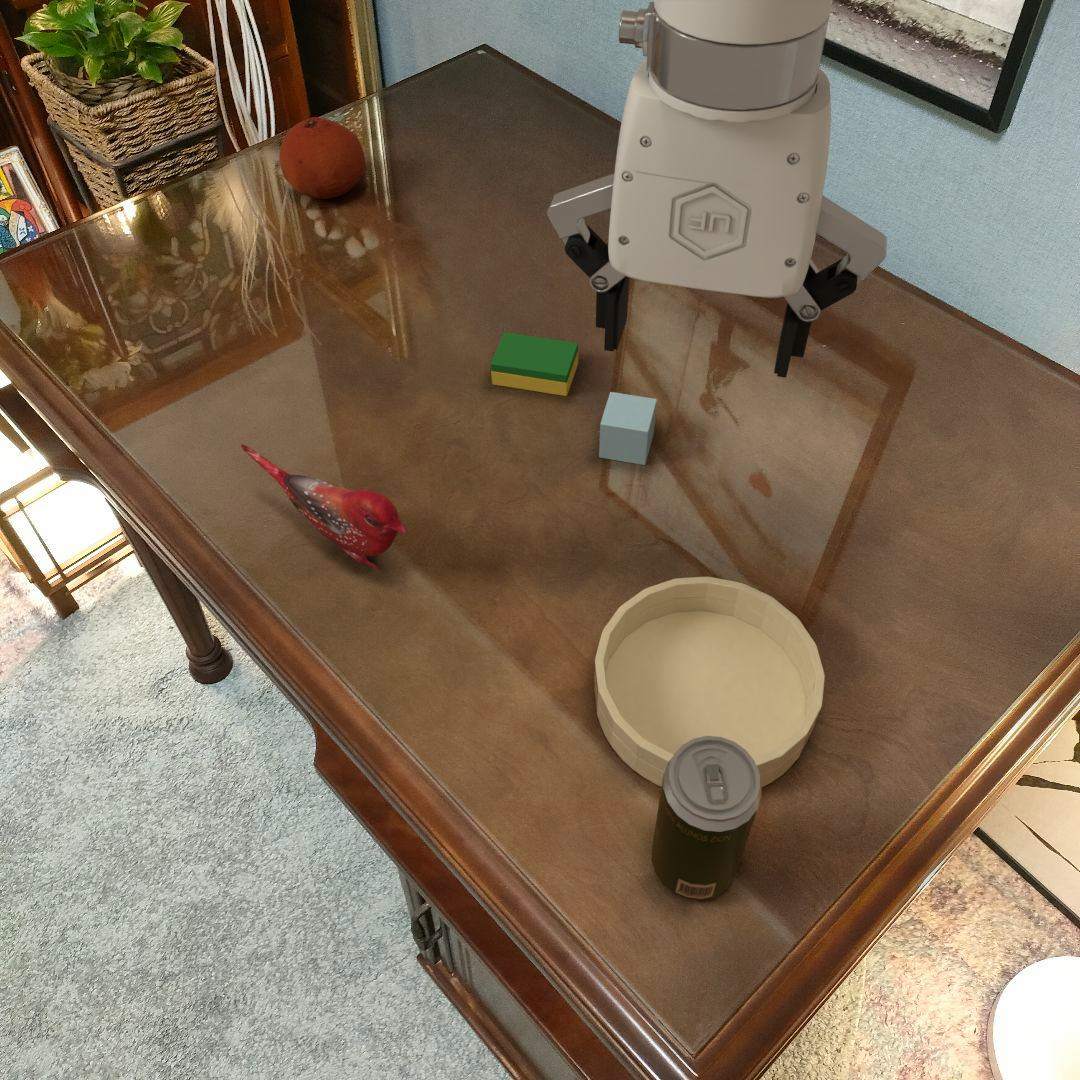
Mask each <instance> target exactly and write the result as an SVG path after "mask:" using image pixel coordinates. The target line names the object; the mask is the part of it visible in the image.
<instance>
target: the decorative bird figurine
mask: <svg viewBox="0 0 1080 1080" xmlns="http://www.w3.org/2000/svg"><path fill="white" fill-rule="evenodd" d="M240 447H241V448H242V450H243V451H244V452H245V453H246V454H247V455H248V456H249V457H250V458H251V459H252V460H254V461H255V463H256V464H258V465H259V467H261V468H262V469H263V470H264V471H265V472H266V473H268V474H269V475H270V476H271V477H272V479H274V480H275V481H276V482H277V483H278V484H279V486H280V487H281V488H282V489H283V491H284V493H285V494H286V495H287V497H288V499H289V500H290V502H291V503H292V505H293V506H294V508H295V509H296V510H297V511H298V512H299V513H300V514H301V515H302V516H304V518H305V519H306V520H307V521H308V522H309V523H310V524H311V525H312V526H313V527H314V528H315V529H316V530H317V531H318V532H319V533H320V534H321V535H322V536H323V537H324V538H326V539H327V540H328V541H330V542H332V543H333V544H335V545H336V546H338V548H340V549H341V550H343V552H345V553H346V555H349V556H350V557H352V558H353V559H354V560H356V561H357V562H358V563H361V564H365V565H368V566H369V567H371V568H374V569H376V570H377V571H381V569H380V568H379V567H378V566H377V565H375V564H374V563H372V562H371V561H369V560H368V558H367V557H374V556H375V557H376V556H379V555H381V554H384V553H385V552H386V551H387V550H389V549H390V548H391V547H392V545H393V544H394V541H395V539H396V538H397V535H398V533H402V534H407V535H408V532H407V530H406V528H405V526H404V524H403V522H402V521H401V518H400V514H399V512H398V509H397V507H395V505H394V503H393V502H392V501H391V500H390V499H389V498H388V497H387V496H385V495H384V494H382V493H381V492H378V491H375V490H372V489H367V488H363V489H362V488H360V489H357V490H352V489H348V488H345V487H342V486H340V485H337V484H335V483H332V482H329V481H326V480H323V479H319V478H316V477H310V476H307V475H301V474H292V473H288V472H286V471H285V470H284V469H282V468H280V466H279V467H278V466H277V465H276V464H275V463H273V462H272V461H270V460H268V458H266V457H264V456H263V455H261V454H260V453H259V452H257V451H255V450H254V449H253V448H251V447H250V446H247V445H245V444H240Z"/></svg>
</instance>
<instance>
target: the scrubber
mask: <svg viewBox="0 0 1080 1080" xmlns="http://www.w3.org/2000/svg"><path fill="white" fill-rule="evenodd" d="M491 359H492V360H491V361H490V375H491V385H495V386H499V387H506V388H512V389H518V390H519V389H520V390H524V391H531V392H538V393H543V394H549V395H556V396H561V397H562V396H563V397H567V396H568V394H569V392H570V388H571V386H572V383H573V381H574V378H575V374H576V371H577V368H578V366H579V343H578V342H573V341H566V340H561V339H553V338H548V337H547V338H546V337H540V336H534V335H527V334H520V333H513V332H508V331H507V332H506V331H504V332H503V334H502V336H501V339H500V341H499V343H498V345H497V347H496V350H495V352H494V355H493V357H492V358H491Z"/></svg>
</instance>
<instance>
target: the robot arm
mask: <svg viewBox="0 0 1080 1080" xmlns="http://www.w3.org/2000/svg"><path fill="white" fill-rule="evenodd" d="M833 2H834V0H653V1H649V4H648V6H647V8H643V7H642V8H639V9H638V11H635V10H622V12H621V15H620V19H619V26H618V42H619V44H626V45H634V47H635V49H642V55H643V57H646V58H645V59H644V60H643V61H641V63H640V64H639V66H638V68H637V69H636V71H635V73H634V74H633V76H632V77H631V81H630V84H629V88H628V91H627V96H626V99H625V102H624V103H625V104H624V107H623V114H622V118H621V122H620V129H619V135H618V141H617V149H616V157H615V166H614V172H613V173H611V174H608V175H604V176H602V177H599V178H597V179H594V180H591V181H588V182H586V183H582V184H580V185H577V186H574V187H570V188H569V189H566V190H563V191H559V192H557V193H555V194H554V195H553V196H552V198H551V201H550V203H549V205H548V207H547V209H546V215H547V218H548V220H549V221H550V223H551V225H552V227H553V229H554V230H555V232H556V234H557V236H558V238H559V240H561V241H562V242H563V244H564V252H565V254H566V256H567V257H568V258H569V259H570V260H571V261H572V262H573V263H574V264H575V265H576V266H577V267H578V268H579V269H580V270H581V271H582V272H583V273H584V275H586V276H587V277H588V278H589V281H588V283H589V286H590V287H591V289H592V290H593V291H595V292H596V296H595V297H596V298H595V327H596V328H597V329H604V343H603V344H604V345H603V346H604V347H603V348H604V349H603V350H604V351H607V352H614V351H615V350H618V349H619V347H620V343H621V339H622V336H623V333H624V330H625V327H626V324H627V320H628V308H629V307H628V306H629V289H630V288H629V287H630V279H632V280H636V281H641V282H646V283H652V284H660V285H665V286H666V285H667V286H673V287H678V288H685V289H686V288H687V289H695V290H699V291H701V290H702V291H707V292H708V291H709V292H715V293H716V292H717V293H722V294H729V295H730V294H731V295H738V296H745V297H754V298H762V299H763V298H764V299H778V298H783V299H784V300H785V302H786V306H785V312H784V316H783V322H782V326H781V330H780V336H779V341H778V346H777V353H776V358H775V364H774V370H773V374H776V376H777V377H778V378H779V377H780V378H785V379H786V378H787V376H788V373H789V372H788V371H789V367H790V362H791V358H792V357H797V358H804V356H805V353H806V348H807V344H808V339H809V335H810V331H811V327H812V322H814V321H816V320H818V318H819V317H820V315H821V311H823V310H825V309H828V307H831V306H833V305H834V304H836V303H838V302H839V301H842V300H844V299H846V298H847V297H849V296H850V295H852V294H853V293H855V292H856V290H857V287H858V285H860V283H861V282H862V281H863V280H866V278H867V277H869V276H870V275H871V273H873V272H874V270H875V269H876V268H877V267H878V266H879V265H881V264H882V262H883V261H884V260H885V259H886V257H887V249H888V238H887V236H886V235H885V234H884V233H883V232H881V231H879V230H878V229H876V228H875V227H873V226H872V225H871V224H869V223H868V222H865V221H863V220H862V219H861V218H859V217H857V216H856V215H854V214H853V213H851V212H850V211H848V210H847V209H846V208H843V207H842V206H841V205H838V204H837V203H836V202H834V201H832V200H831V199H829V198H828V197H826V196H824V189H825V183H826V177H827V169H828V162H829V153H830V145H831V144H830V143H831V127H832V124H831V123H832V103H831V101H832V100H831V84H830V80H829V78H828V76H827V74H826V73H825V72H824V71H823V70H822V68H820V67H821V62H822V56H823V51H824V47H825V41H826V35H827V30H828V25H829V21H830V20H829V19H830V14H831V10H832V7H833ZM608 210H610V215H609V226H608V227H609V228H608V241H607V243H606V242H605V241H604V240H603V239H602V237H600V236H599V234H597V233H596V232H595V231H594V230H593V229H592V227H590V226H589V225H588V224H586V223H585V222H586V221H585V220H586V219H585V218H587V217H591V216H595V215H597V214H600V213H603V212H606V211H608ZM817 236H819V237H821V238H822V239H825V240H826V241H828V242H829V243H831V244H832V245H834V246H836V248H838V249H840V250H842V251H843V252H845V253H846V255H845V256H844V257H842V258H840V259H839V260H836V261H835V262H833V263H831V264H830V265H828V266H827V267H826V266H825V268H823V269H821V270H819V269H818V267H817V265H816V264H815V262H814V261H813V260H812V255H813V250H814V247H815V243H816V242H815V240H816V237H817Z"/></svg>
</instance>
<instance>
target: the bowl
mask: <svg viewBox="0 0 1080 1080" xmlns="http://www.w3.org/2000/svg"><path fill="white" fill-rule="evenodd" d="M593 673H594V674H593V675H594V676H593V690H594V702H595V711H596V715H597V718H598V721H599V725H600V727H601V730H602V732H603V734H604V736H605V737H606V738H605V739H606V740H607V741H608V743H609V745H610V746H611V748H612V749H613V750H614V752H615V753H616V754H617V755H618V757H619V758H620V759H621V760H622V761H623V762H624V764H626V765H627V766H628V767H629V768H631V770H633V771H634V772H636V773H637V774H639V775H640V776H641V777H643V778H644V779H646V780H647V781H649V782H651V783H653V784H654V785H656V786H659V787H661V788H662V781H663V775H664V772H665V769H666V767H667V764H668V762H669V760H670V759H671V758H672V757H673V756H674V754H675V753H676V752H677V750H678V749H679V748H680V747H681V746H682V745H683V744H685V743H687V742H689V741H690V740H692V739H694V738H699V737H704V736H716V737H723V738H725V739H728V740H731V741H734V742H735V743H737V744H738V745H740V746H741V747H742V748H744V749H745V750H746V751H747V752H748V753H749V754H750V756H751V757H752V758H753V760H754V761H755V763H756V766H757V768H758V771H759V773H760V780H761V789H762V788H763V787H765V786H767V785H770V784H771V783H773V782H774V781H776V780H778V779H779V778H780V777H781V776H783V775H784V774H785V773H787V771H788V770H789V769H790V768H791V767H792V766H793V765H794V764H795V762H797V760H798V759H799V758H800V756H801V754H802V753H803V751H804V749H805V747H806V745H807V743H808V740H809V739H810V737H811V735H812V733H813V730H814V727H815V725H816V723H817V720H818V718H819V716H820V712H821V710H822V707H823V701H824V690H825V680H826V678H825V677H826V675H825V671H824V667H823V663H822V660H821V657H820V652H819V650H818V646H817V643H816V642H815V641H814V639H813V638H812V637H811V635H810V633H809V632H808V630H807V629H806V628H805V626H804V624H803V623H802V622H801V620H800V618H798V616H796V615H795V614H794V613H793V612H792V611H790V610H789V609H787V608H786V607H785V606H784V605H783V604H781V603H780V601H778V600H777V599H776V598H774V597H773V596H772V595H769V594H767V593H765V592H762V591H761V590H758V589H757V588H754V587H752V586H750V585H748V584H745V583H744V582H740V581H734V580H729V579H723V578H719V577H713V576H693V577H692V576H691V577H678V578H672V579H670V580H666V581H664V582H660V583H658V584H654V585H652V586H649V587H646V588H644V589H642V590H641V591H639V592H638V593H636V594H635V595H634V596H633V597H631V598H629V600H627V601H626V602H624V603H623V604H622V605H620V606H618V607H617V610H616V611H615V613H614V614H613V615H612V617H610V619H609V620H608V622H607V624H605V627H604V628H603V629H602V631H601V635H600V639H599V642H598V646H597V650H596V654H595V657H594V672H593Z"/></svg>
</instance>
